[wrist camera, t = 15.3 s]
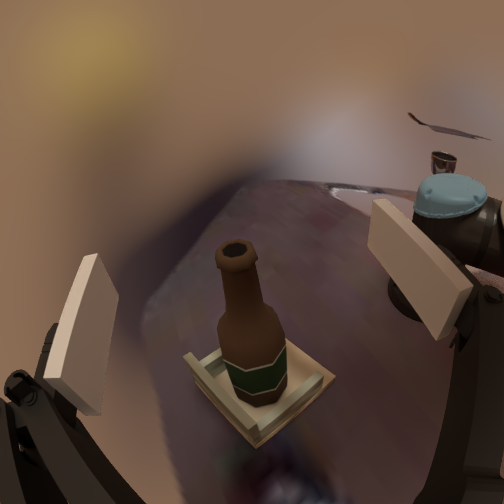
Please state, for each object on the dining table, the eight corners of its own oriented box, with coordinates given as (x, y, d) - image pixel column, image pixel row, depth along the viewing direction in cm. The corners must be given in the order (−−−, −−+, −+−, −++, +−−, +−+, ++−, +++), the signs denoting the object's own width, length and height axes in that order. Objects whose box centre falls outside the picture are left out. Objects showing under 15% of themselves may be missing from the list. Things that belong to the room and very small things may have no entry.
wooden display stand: (272, 331, 49) (268, 297, 44) (334, 380, 40) (341, 349, 35) (197, 385, 42) (181, 356, 37) (256, 449, 33) (248, 430, 28)
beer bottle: (223, 381, 41) (175, 247, 26) (265, 354, 44) (246, 215, 30) (254, 419, 35) (217, 295, 21) (299, 387, 39) (300, 249, 24)
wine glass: (420, 198, 79) (426, 151, 71) (436, 194, 81) (443, 150, 72) (437, 210, 73) (445, 161, 64) (453, 205, 74) (462, 159, 65)
